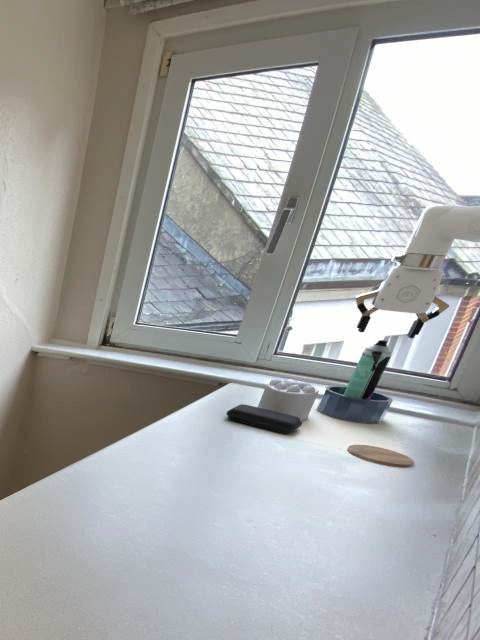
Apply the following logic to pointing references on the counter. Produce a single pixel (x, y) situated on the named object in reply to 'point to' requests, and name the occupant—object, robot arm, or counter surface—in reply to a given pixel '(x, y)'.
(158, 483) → the counter surface
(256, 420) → the carrying case
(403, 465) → the coaster
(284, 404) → the white pebble pot
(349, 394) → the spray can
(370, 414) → the bowl
